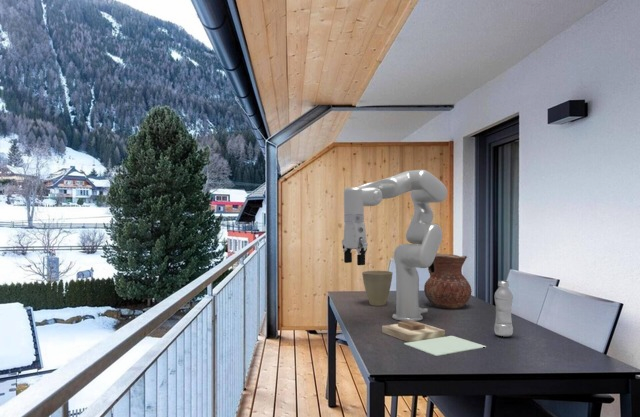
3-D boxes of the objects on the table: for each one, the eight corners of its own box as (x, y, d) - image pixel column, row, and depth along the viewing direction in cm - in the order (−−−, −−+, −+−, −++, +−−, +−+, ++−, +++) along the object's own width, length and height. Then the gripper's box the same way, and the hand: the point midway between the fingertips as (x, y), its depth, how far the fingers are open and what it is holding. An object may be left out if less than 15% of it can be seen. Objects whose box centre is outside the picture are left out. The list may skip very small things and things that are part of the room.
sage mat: (451, 336, 174) (451, 335, 174) (486, 347, 160) (486, 346, 160) (403, 344, 164) (403, 343, 164) (436, 356, 150) (436, 355, 150)
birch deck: (415, 327, 188) (415, 321, 188) (444, 337, 173) (444, 330, 174) (382, 332, 180) (382, 325, 180) (409, 342, 166) (409, 335, 166)
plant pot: (371, 300, 246) (371, 269, 247) (397, 304, 238) (397, 271, 238) (356, 305, 234) (356, 272, 234) (383, 308, 226) (383, 274, 226)
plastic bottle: (512, 334, 177) (512, 280, 178) (513, 339, 171) (513, 282, 171) (494, 333, 179) (493, 279, 180) (494, 337, 173) (494, 282, 173)
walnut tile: (410, 324, 183) (410, 320, 183) (424, 328, 176) (424, 324, 176) (398, 326, 180) (398, 322, 180) (411, 330, 173) (411, 326, 173)
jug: (476, 305, 236) (476, 254, 236) (464, 312, 218) (464, 257, 218) (432, 300, 247) (432, 252, 248) (417, 307, 230) (417, 254, 230)
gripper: (374, 219, 179) (375, 265, 179) (350, 218, 195) (351, 261, 195) (357, 220, 176) (357, 266, 176) (334, 219, 191) (335, 262, 191)
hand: (354, 263), depth 185 cm, fingers open, 9 cm apart
